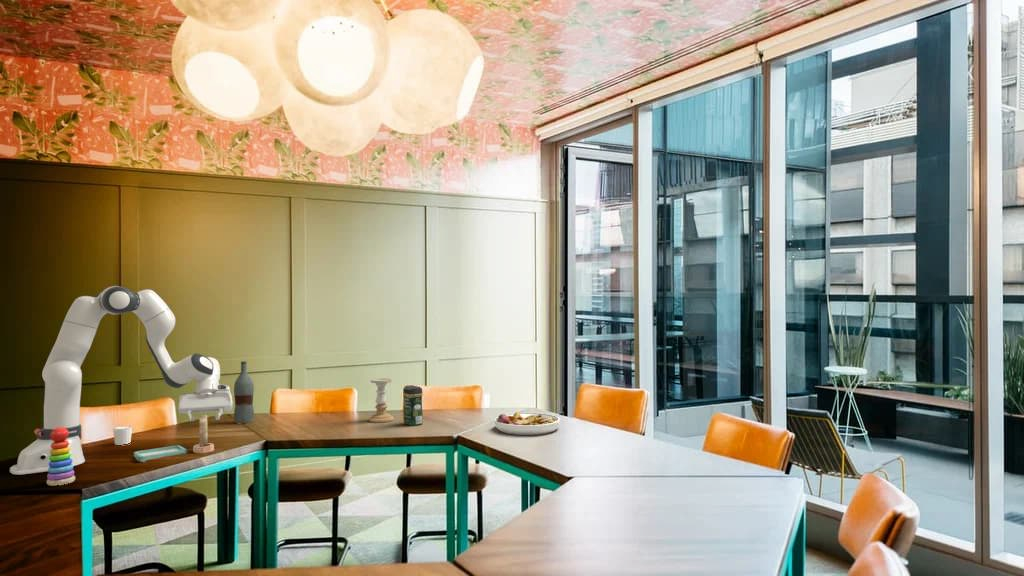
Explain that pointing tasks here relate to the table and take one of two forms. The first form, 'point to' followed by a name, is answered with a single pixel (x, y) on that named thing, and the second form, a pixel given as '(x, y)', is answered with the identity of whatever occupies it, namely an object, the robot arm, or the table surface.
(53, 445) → the stacking toy
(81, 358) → the robot arm
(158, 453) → the tray
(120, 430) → the white tapered pot
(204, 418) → the dowel
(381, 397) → the candle holder
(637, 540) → the table surface
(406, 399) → the coffee jar
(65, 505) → the table surface
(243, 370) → the bottle
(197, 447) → the wooden ring
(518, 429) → the bowl
